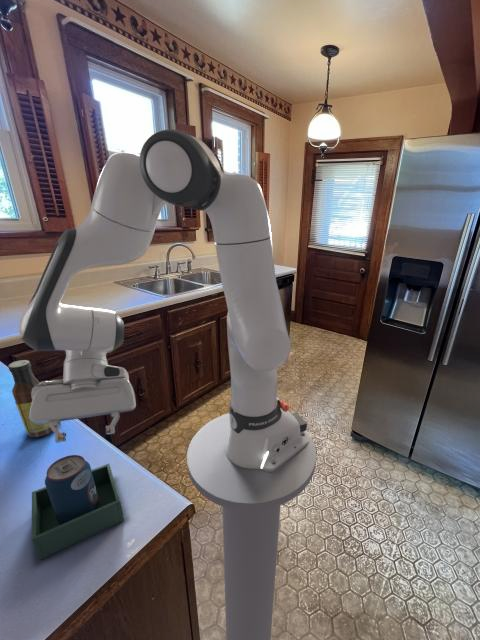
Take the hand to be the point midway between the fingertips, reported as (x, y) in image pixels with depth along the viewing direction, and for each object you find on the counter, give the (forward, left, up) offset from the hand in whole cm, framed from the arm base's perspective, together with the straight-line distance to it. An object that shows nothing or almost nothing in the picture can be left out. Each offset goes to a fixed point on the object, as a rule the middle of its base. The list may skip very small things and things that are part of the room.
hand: (86, 437), depth 67 cm
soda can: (+4, +12, -8) cm, 15 cm away
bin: (+4, +12, -9) cm, 15 cm away
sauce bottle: (+9, -21, -9) cm, 25 cm away
